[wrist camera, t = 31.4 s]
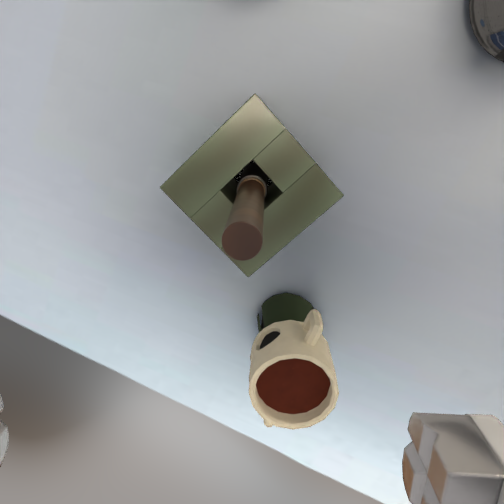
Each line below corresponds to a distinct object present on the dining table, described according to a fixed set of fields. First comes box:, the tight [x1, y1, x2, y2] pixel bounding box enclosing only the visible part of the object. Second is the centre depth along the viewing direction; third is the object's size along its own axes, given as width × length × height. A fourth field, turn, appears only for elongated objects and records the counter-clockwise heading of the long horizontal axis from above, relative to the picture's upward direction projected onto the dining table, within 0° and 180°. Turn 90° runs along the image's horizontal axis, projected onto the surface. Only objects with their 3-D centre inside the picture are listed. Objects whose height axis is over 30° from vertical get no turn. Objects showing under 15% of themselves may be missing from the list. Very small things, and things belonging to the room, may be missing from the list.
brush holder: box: [160, 94, 344, 277], centre depth 38 cm, size 10×10×9 cm
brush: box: [221, 163, 267, 261], centre depth 32 cm, size 2×2×22 cm
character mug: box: [249, 293, 339, 429], centre depth 41 cm, size 11×7×13 cm, turn 158°
